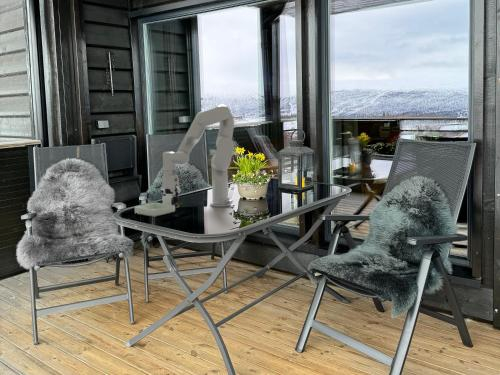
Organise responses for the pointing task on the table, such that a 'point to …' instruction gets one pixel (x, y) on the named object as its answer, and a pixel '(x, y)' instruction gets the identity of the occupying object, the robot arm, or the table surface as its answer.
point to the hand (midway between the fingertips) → (170, 201)
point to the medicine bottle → (169, 198)
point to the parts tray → (155, 209)
